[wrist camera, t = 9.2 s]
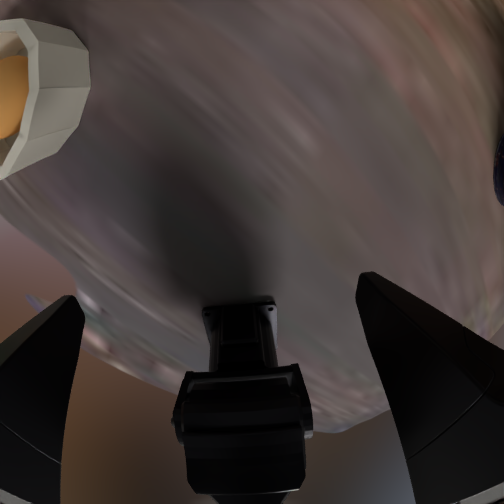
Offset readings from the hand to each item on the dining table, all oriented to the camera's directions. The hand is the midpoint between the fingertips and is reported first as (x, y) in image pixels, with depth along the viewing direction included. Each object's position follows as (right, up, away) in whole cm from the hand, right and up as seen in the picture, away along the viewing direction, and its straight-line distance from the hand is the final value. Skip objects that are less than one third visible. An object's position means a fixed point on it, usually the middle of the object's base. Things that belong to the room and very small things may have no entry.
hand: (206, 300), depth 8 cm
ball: (-15, +12, +2) cm, 19 cm away
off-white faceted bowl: (-15, +13, +5) cm, 21 cm away
